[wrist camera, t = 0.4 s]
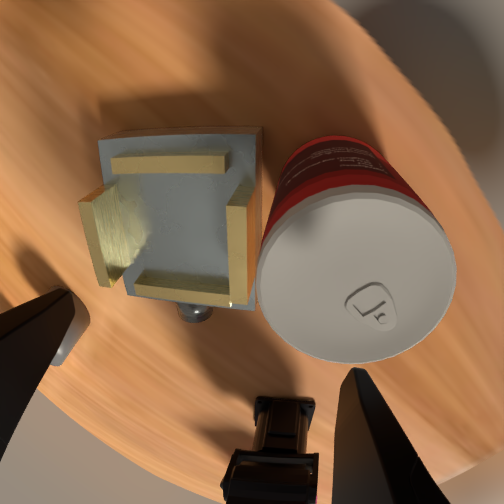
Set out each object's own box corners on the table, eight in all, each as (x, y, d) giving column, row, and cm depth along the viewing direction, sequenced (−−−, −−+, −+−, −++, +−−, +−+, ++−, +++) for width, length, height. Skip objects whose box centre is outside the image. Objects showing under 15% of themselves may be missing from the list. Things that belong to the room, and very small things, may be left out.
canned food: (351, 262, 23) (370, 385, 14) (256, 205, 22) (216, 312, 13) (417, 180, 19) (494, 272, 10) (318, 109, 18) (333, 142, 9)
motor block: (260, 305, 26) (248, 361, 21) (147, 292, 28) (117, 339, 22) (262, 126, 19) (245, 145, 14) (120, 131, 20) (69, 152, 15)
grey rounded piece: (96, 333, 32) (69, 375, 27) (58, 323, 33) (30, 360, 28) (80, 290, 29) (46, 331, 24) (41, 282, 30) (7, 318, 25)
